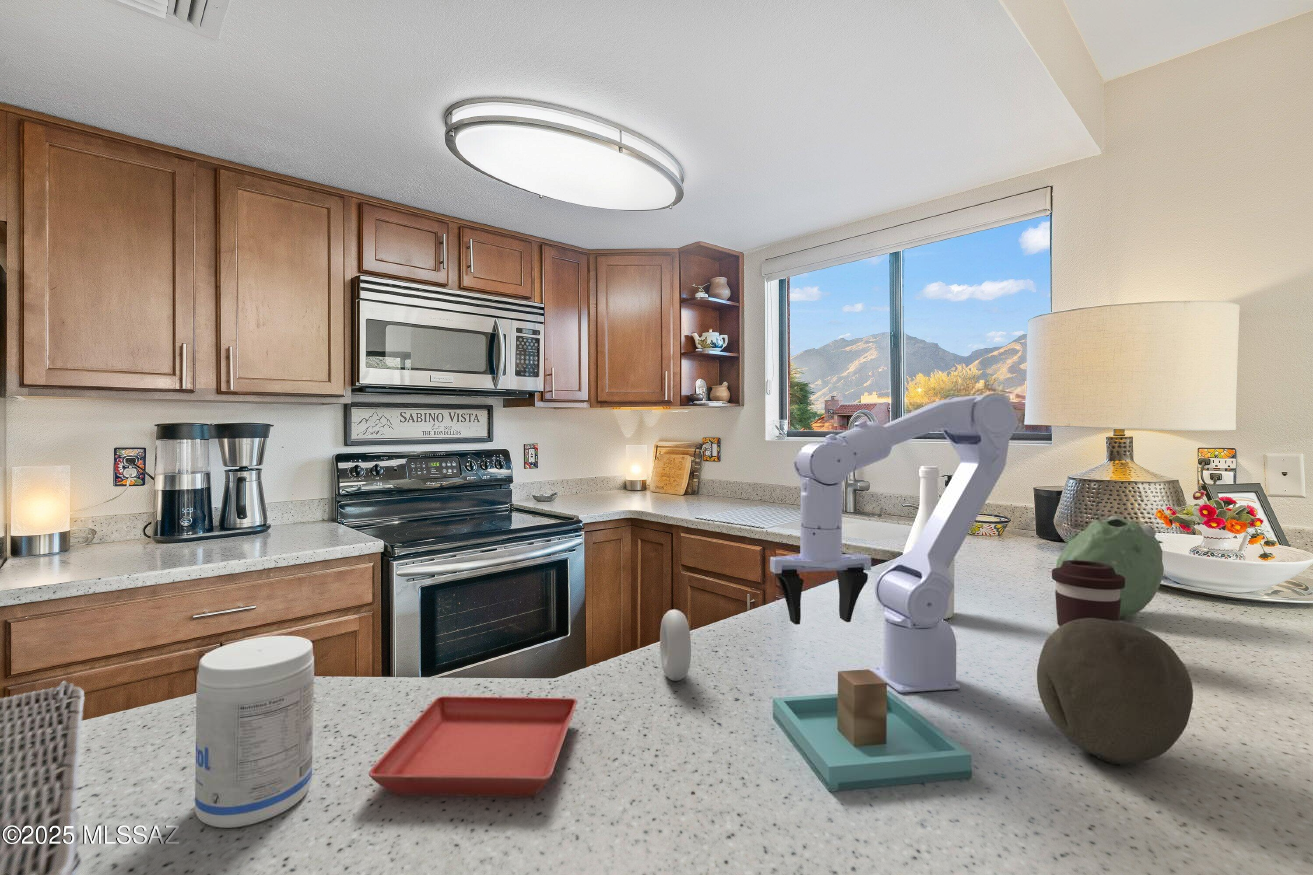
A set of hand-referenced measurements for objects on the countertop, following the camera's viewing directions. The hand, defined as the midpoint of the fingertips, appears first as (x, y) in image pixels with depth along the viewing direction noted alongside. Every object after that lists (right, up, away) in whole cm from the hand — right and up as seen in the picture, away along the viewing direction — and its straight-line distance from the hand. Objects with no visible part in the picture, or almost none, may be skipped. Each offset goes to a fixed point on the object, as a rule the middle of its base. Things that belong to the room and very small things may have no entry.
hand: (820, 621), depth 86 cm
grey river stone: (+28, -10, -18) cm, 35 cm away
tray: (+1, -10, -16) cm, 19 cm away
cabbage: (+68, -10, +36) cm, 77 cm away
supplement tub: (-62, -9, -27) cm, 69 cm away
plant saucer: (-42, -10, -19) cm, 48 cm away
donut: (-21, -10, +3) cm, 23 cm away
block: (+1, -9, -16) cm, 18 cm away
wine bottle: (+32, -10, +36) cm, 49 cm away
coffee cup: (+48, -10, +14) cm, 51 cm away
